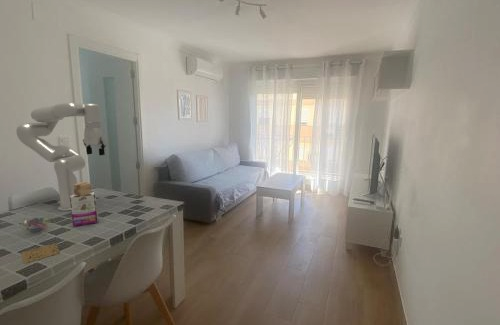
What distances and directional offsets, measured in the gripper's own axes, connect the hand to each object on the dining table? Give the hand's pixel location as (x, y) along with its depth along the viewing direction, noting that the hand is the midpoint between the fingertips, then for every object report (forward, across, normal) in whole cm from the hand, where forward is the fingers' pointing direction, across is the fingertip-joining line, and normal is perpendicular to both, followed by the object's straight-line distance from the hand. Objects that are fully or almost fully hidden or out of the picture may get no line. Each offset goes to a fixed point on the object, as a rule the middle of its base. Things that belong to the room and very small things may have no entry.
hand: (95, 154), depth 151 cm
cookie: (+35, +20, -47) cm, 62 cm away
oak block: (+18, +10, -18) cm, 27 cm away
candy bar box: (+34, +10, -18) cm, 40 cm away
